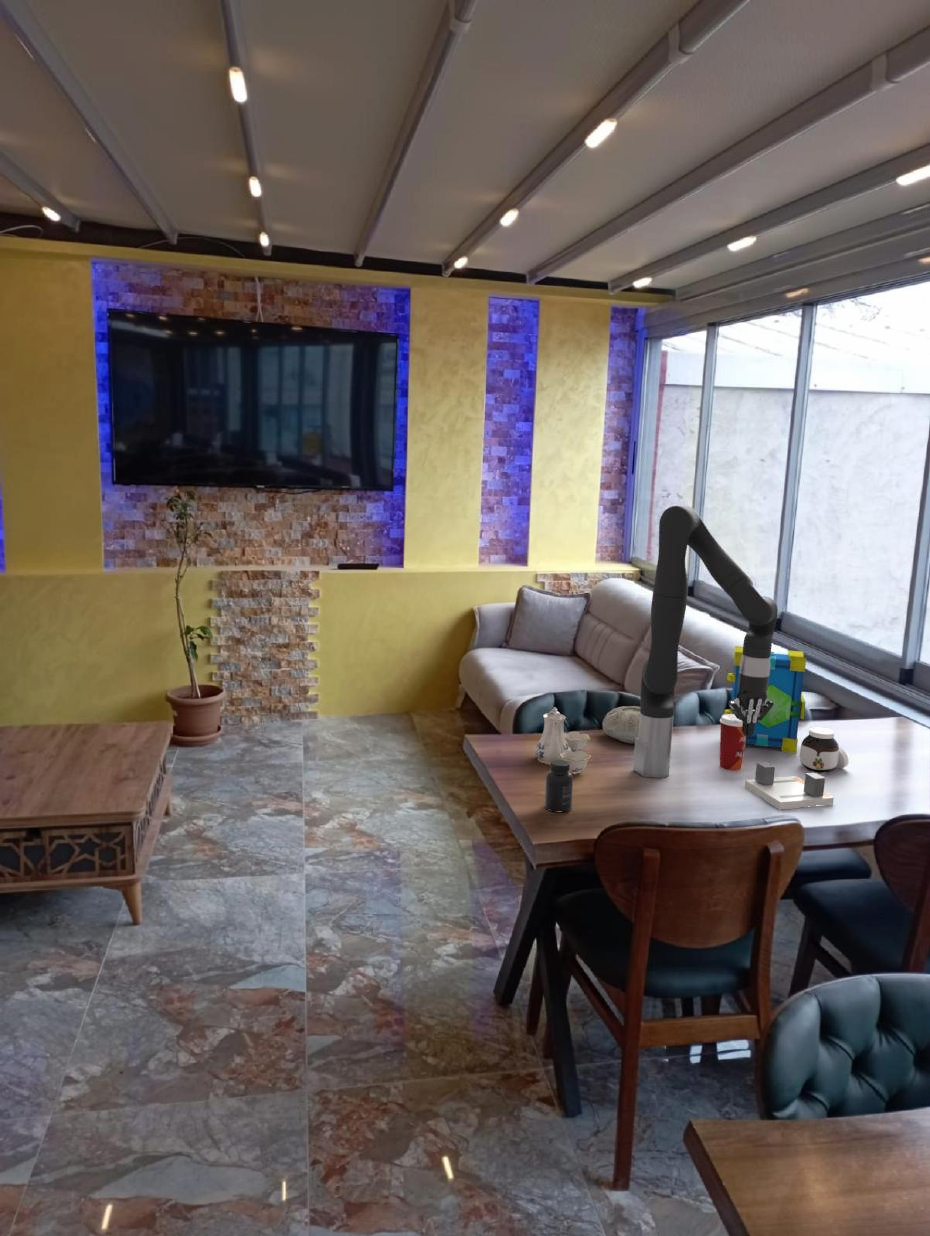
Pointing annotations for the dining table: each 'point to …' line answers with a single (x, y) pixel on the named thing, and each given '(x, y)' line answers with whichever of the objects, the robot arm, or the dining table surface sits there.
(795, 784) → the panel
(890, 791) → the dining table surface
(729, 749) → the coffee cup
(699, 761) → the dining table surface
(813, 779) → the breaker
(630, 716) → the decorative shell
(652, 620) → the robot arm
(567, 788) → the supplement bottle
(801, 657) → the blue yellow rectangular box
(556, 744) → the chinaware
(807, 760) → the spread jar
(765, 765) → the block
